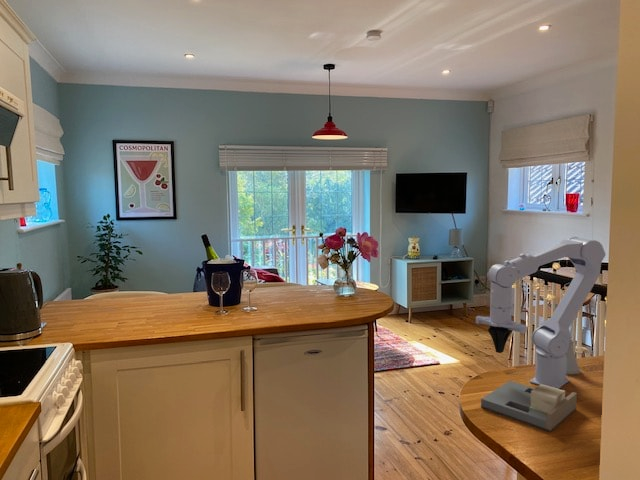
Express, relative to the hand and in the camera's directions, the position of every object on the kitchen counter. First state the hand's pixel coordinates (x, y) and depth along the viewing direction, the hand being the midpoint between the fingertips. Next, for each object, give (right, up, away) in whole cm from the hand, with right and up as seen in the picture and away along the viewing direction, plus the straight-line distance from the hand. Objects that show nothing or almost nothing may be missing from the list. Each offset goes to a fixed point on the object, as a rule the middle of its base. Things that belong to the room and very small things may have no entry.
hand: (499, 351), depth 139 cm
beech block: (+6, -10, -17) cm, 21 cm away
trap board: (+3, -12, -13) cm, 18 cm away
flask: (+25, -9, +11) cm, 29 cm away
